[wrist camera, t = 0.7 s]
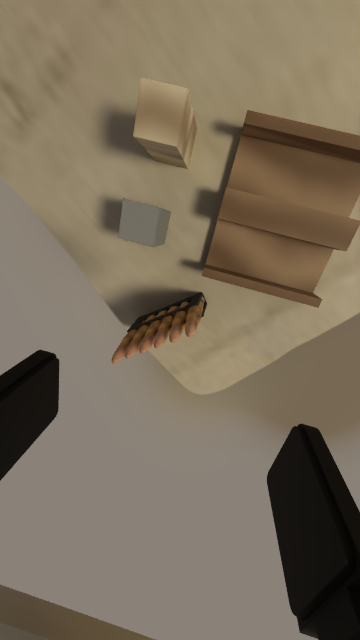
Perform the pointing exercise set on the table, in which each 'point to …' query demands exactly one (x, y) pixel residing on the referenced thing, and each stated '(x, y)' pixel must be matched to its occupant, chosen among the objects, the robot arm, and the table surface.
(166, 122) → the birch block
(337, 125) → the table surface
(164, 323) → the ammunition clip
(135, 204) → the rubber block
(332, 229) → the slot rack
